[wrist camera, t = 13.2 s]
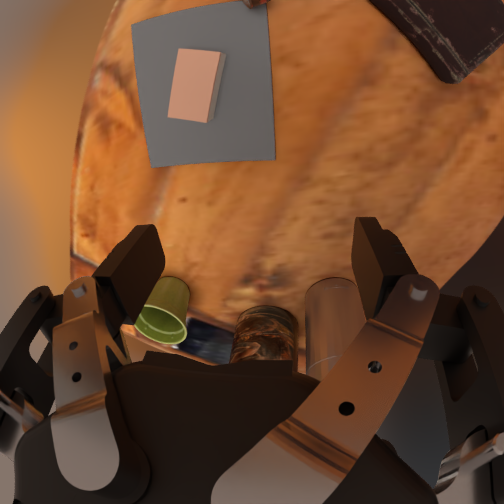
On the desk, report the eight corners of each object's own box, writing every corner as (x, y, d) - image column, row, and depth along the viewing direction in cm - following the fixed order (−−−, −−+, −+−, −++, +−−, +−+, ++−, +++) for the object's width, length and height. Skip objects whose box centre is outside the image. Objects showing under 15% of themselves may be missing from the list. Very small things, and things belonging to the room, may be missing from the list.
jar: (308, 335, 51) (309, 407, 39) (256, 349, 55) (247, 415, 43) (280, 297, 46) (275, 377, 34) (223, 316, 50) (206, 388, 38)
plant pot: (160, 258, 44) (139, 295, 37) (209, 287, 46) (196, 327, 39) (142, 289, 49) (124, 324, 42) (185, 314, 51) (172, 350, 44)
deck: (226, 54, 24) (220, 52, 22) (213, 118, 29) (206, 122, 27) (187, 50, 24) (178, 48, 22) (177, 113, 29) (167, 117, 27)
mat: (275, 158, 32) (275, 160, 32) (153, 166, 34) (151, 167, 34) (266, 0, 20) (265, -2, 20) (133, 25, 22) (131, 24, 22)
